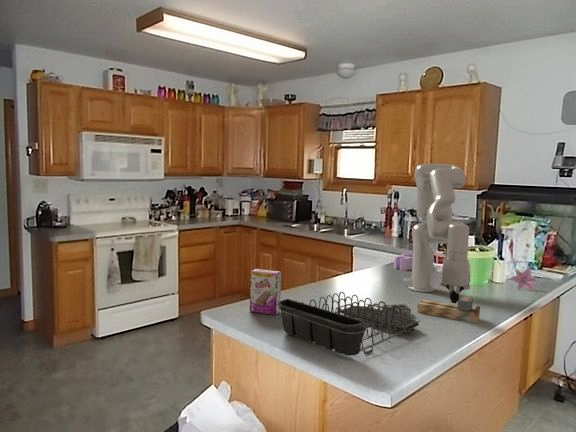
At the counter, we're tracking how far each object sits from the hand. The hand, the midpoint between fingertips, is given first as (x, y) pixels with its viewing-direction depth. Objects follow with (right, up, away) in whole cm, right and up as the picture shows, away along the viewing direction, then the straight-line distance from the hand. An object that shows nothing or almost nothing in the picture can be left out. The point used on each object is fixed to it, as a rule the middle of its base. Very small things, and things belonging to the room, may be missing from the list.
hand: (454, 302), depth 174 cm
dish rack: (-42, -7, -19) cm, 47 cm away
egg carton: (-22, -6, +2) cm, 23 cm away
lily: (+50, -2, +45) cm, 67 cm away
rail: (-2, -6, +2) cm, 6 cm away
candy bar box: (-73, -4, +1) cm, 74 cm away
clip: (+6, +3, +89) cm, 89 cm away
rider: (+3, -3, -2) cm, 5 cm away
